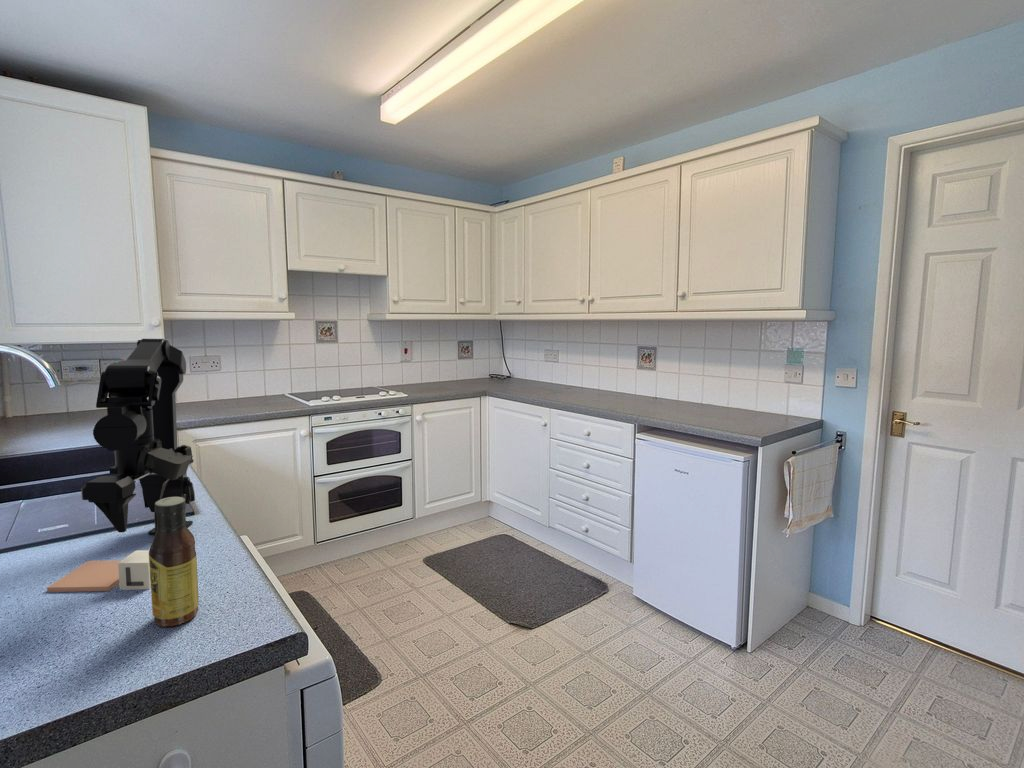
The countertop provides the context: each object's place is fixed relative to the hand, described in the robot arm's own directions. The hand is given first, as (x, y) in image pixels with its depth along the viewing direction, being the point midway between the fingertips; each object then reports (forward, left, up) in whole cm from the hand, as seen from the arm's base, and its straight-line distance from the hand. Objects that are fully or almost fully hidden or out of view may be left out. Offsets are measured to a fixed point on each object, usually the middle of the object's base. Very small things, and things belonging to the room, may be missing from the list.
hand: (139, 521), depth 93 cm
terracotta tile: (-2, -9, -12) cm, 15 cm away
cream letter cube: (0, 0, -12) cm, 12 cm away
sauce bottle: (+12, +12, -12) cm, 21 cm away
